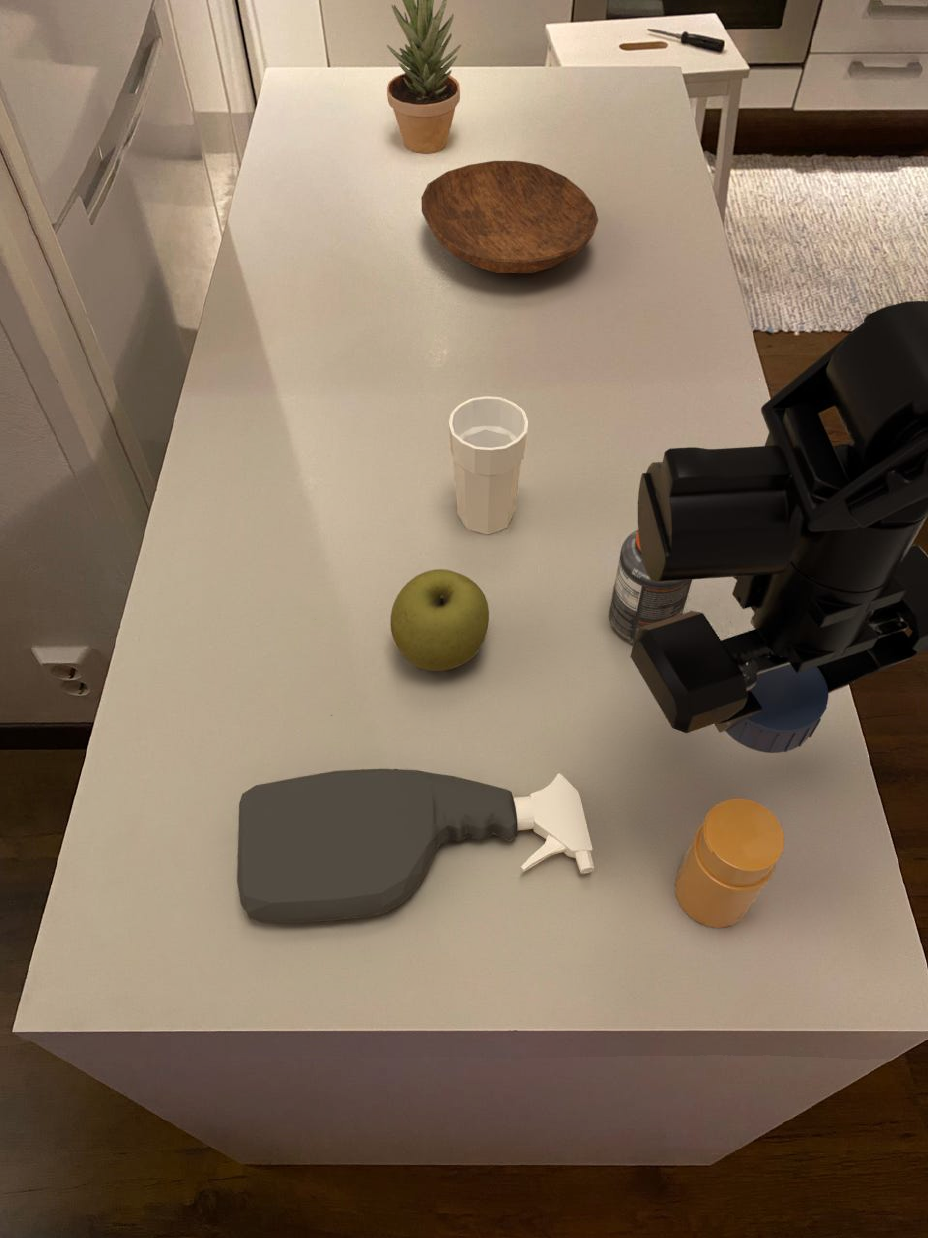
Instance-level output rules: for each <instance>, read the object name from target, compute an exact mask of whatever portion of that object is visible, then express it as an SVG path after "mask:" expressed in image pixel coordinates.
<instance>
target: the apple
mask: <svg viewBox="0 0 928 1238" xmlns="http://www.w3.org/2000/svg"><path fill="white" fill-rule="evenodd" d="M489 622H490V609H489V603H488V599H487V597H486V595H485V593H484V591H483V590H482V588H480V586H479V585H478V584H477V583H476V582H475V581H474V580H472V579H471V578H470V577H467V576H466V575H464V574H461V573H459V572H456V571H453V570H450V569H444V568H443V569H442V568H437V569H431V570H427V571H424V572H421V573H419V574H418V575H416V576H414V577H413V578H412V579H410V580H409V581H408V582H406V584H405V585H404V586H403V587H402V588H401V590H400V591H399V593H398V594H397V595H396V597H395V599H394V601H393V605H392V607H391V613H390V632H391V633H390V634H391V637H392V639H393V642H394V644H395V646H396V648H397V649H398V651H399V652H400V654H401V655H402V656H403V657H404V658H405V659H406V660H407V661H409V662H410V664H412V665H414V666H415V667H418V668H420V669H422V670H425V671H431V672H442V671H443V672H444V671H448V670H452V669H455V668H458V667H460V666H462V665H464V664H465V663H467V662H468V661H470V660H471V659H472V658H473V657H474V656H475V655H476V654H477V652H478V651H479V650H481V649H480V648H481V647H482V645H483V643H484V641H485V640H486V639H485V638H486V636H487V634H488V629H489Z"/></svg>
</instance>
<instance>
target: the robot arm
mask: <svg viewBox="0 0 928 1238" xmlns="http://www.w3.org/2000/svg"><path fill="white" fill-rule="evenodd" d="M833 407H834V408H835V410H836V413H837V414H838V417H839V418H840V421H841V423H842V425H843V427H844V429H845V431H846V433H847V436H848V438H849V440H846V441H844V442H843V443H840V444H836V445H833V443H832V441H831V437H830V436H829V434H828V432H827V429H826V427H825V424H824V423H823V421H822V418H821V416H820V413H822V412H824V411H827V410H829V409H830V408H833ZM760 413H761V415H762V418H763V420H764V423H765V426H766V427H767V430H768V435H767V438H766V441H765V443H764V445H760V446H744V447H742V446H741V447H727V448H726V447H725V448H703V447H702V448H701V447H689V446H688V447H673V448H668V449H666V451H665V452H664V454H663V457H662V461H653V462H651V464H649V465H648V467H647V470H646V472H642V473H641V475H640V481H639V485H638V494H637V530H638V534H639V543H640V549H641V555H642V560H643V563H644V567H645V569H646V572H647V574H648V576H649V578H650V579H651V580H652V581H653V582H662V581H677V580H692V581H693V580H707V579H723V578H733V579H735V580H736V582H735V584H734V587H733V590H732V593H731V594H732V596H733V597H734V599H735V600H736V602H737V603H738V604H739V606H740V607H741V609H743V610H746V609H749V608H750V609H751V610H752V612H753V615H752V617H751V619H750V624H751V625H752V627H753V628H754V629H752V630H748V631H745V632H743V633H740V634H736V635H733V636H731V637H727V638H724V639H721V638H720V637H719V636H718V634H717V632H716V631H715V629H714V628H713V626H712V625H711V623H710V622H709V619H708V618H707V617H706V615H705V614H704V613H703V612H699V611H695V610H690V611H686V612H683V614H680V615H677V616H674V617H671V618H668V619H665V620H662V621H658V622H655V623H652V624H649V625H646V626H643V627H639V630H638V632H637V635H636V637H635V640H634V644H632V648H631V651H630V652H631V653H630V658H631V660H632V662H633V664H634V666H635V667H636V669H637V671H638V673H639V674H640V676H641V677H642V679H643V680H644V682H645V684H646V686H647V688H648V689H649V691H650V693H651V694H652V696H653V698H654V699H655V701H656V704H657V705H658V707H659V708H660V710H661V712H662V713H663V715H664V717H665V718H666V720H667V722H668V724H669V725H670V728H671V729H672V730H676V731H678V732H681V733H682V734H683V733H684V734H686V735H687V734H689V733H692V732H696V731H698V730H701V729H704V728H707V727H710V726H712V725H714V726H715V728H716V730H717V731H718V732H719V733H725V732H726V730H728V729H730V728H732V727H734V726H736V725H737V724H739V723H741V722H742V721H744V720H746V719H747V718H749V717H751V716H753V715H754V714H756V713H758V712H760V711H761V710H762V707H761V705H760V704H759V702H758V701H757V699H756V698H755V696H754V695H753V693H752V692H751V689H753V688H754V686H755V684H756V681H757V676H758V675H761V674H764V673H767V672H770V671H773V670H776V669H779V668H782V667H785V666H788V665H792V667H793V668H794V670H795V671H796V673H800V672H802V671H805V670H808V669H811V668H814V667H817V668H818V669H819V670H820V672H821V673H822V675H823V677H824V679H825V681H826V684H827V688H828V695H829V694H831V693H833V692H836V691H838V690H840V689H842V688H845V687H847V686H849V685H852V684H854V683H856V682H859V681H861V680H863V679H866V678H868V677H870V676H873V675H875V674H877V673H879V672H883V671H884V670H887V669H890V668H891V667H894V666H896V665H899V664H901V663H903V662H906V661H908V660H911V659H913V658H914V657H915V656H916V655H917V653H919V654H920V653H922V652H925V651H928V554H927V552H926V551H925V550H924V549H922V548H921V546H920V545H918V544H913V543H914V541H915V539H916V537H917V536H918V534H919V532H920V530H921V529H922V527H923V525H924V523H925V522H926V520H927V518H928V300H911V301H904V302H903V301H902V302H898V303H895V304H891V305H888V306H884V307H882V308H879V309H877V310H875V311H873V312H870V313H869V314H867V315H866V316H865V317H864V319H863V322H862V323H861V324H860V325H858V326H857V327H855V328H854V329H853V330H852V331H850V333H848V334H847V335H846V336H845V337H843V338H842V339H841V340H840V341H839V342H837V343H836V344H835V345H834V346H833V347H831V348H830V349H829V350H828V351H827V352H825V353H824V354H823V355H822V356H821V357H820V358H818V359H817V360H816V361H814V362H813V363H812V364H811V365H810V366H809V367H807V368H806V369H805V370H803V372H801V373H800V374H799V375H798V376H797V377H796V378H794V379H793V380H791V382H789V383H788V384H787V385H786V386H784V387H783V388H782V389H781V390H780V391H778V392H777V393H776V394H775V395H774V396H773V397H771V398H770V399H769V400H768V401H766V402H765V403H764V404H763V405H762V406H761V408H760ZM908 628H909V630H911V633H910V634H909V635H908V634H907V632H906V630H907V629H908Z"/></svg>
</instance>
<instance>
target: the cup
mask: <svg viewBox="0 0 928 1238" xmlns="http://www.w3.org/2000/svg"><path fill="white" fill-rule="evenodd" d="M528 426H529V420H528V418H527V414H526V411H525V410H524V409H522V408H521V407H520V406H519V405H517V404H516V402H513V401H510V400H509V399H506V398H504V397H502V396H501V397H499V396H488V395H487V396H479V397H478V396H477V397H471V398H470V399H467V400H466V401H463V402H462V403H460V404H458V405H457V406H456V407H455V409H453V410H452V412H450V415H449V421H448V431H449V443H450V452H451V456H452V460H453V471H454V473H453V474H454V482H455V484H454V485H455V495H456V507H457V508H456V510H457V516H458V518H459V519H460V521H461V522H462V524H463V526H464V527H465V529H466V530H468V531H473V532H476V533H479V534H483V535H486V536H487V535H491V534H494V533H497V532H499V531H503V530H506V529H508V528H509V526H510V523H511V521H512V519H513V517H514V515H515V509H516V500H517V493H518V485H519V479H520V472H521V464H522V461H523V460H524V459H525V458H524V457H525V451H526V450H525V449H526V444H527V443H526V442H527V435H528Z"/></svg>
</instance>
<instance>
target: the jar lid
mask: <svg viewBox="0 0 928 1238" xmlns="http://www.w3.org/2000/svg"><path fill="white" fill-rule="evenodd" d="M751 692H752V693H753V695H754V696H755V698H756V699H757V701H758V702H759V704H760V705H761V707H762V710H761V711H760V712H758V713H756V714H754V715H753V716H751V717H749V718H747V719H746V720H744V721H742V722H741V723H739V724H737V725H736V726H734V727H732V728H730V729H728V730H726V731H725V732H726V734H727V735H728V736H729V737H730V738H732V739H733V740H734V741H736V742H737V743H739V744H741V745H742V746H744V747H746V748H749V749H750V750H753V751H757V752H761V753H768V754H781V753H788V752H789V751H792V750H795V749H797V748H800V747H802V745H803V744H804V743H805V742H806V741H808V739H809V738H811V737H812V736H813V734H814V732H815V731H816V729H817V727H818V726H819V724H820V722H821V720H822V719H821V718H822V717H823V715H824V714H825V712H826V710H827V706H828V703H829V694H828V688H827V684H826V681H825V679H824V677H823V675H822V673H821V672H820V670H819V669H818V668H817V667H814V668H811V669H808V670H805V671H802V672H800V673H796V671H795V670H794V668H793V667H792V665H788V666H785V667H782V668H779V669H776V670H773V671H770V672H767V673H764V674H761V675H758V676H757V681H756V684H755V686H754V688H753V689H751Z"/></svg>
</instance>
